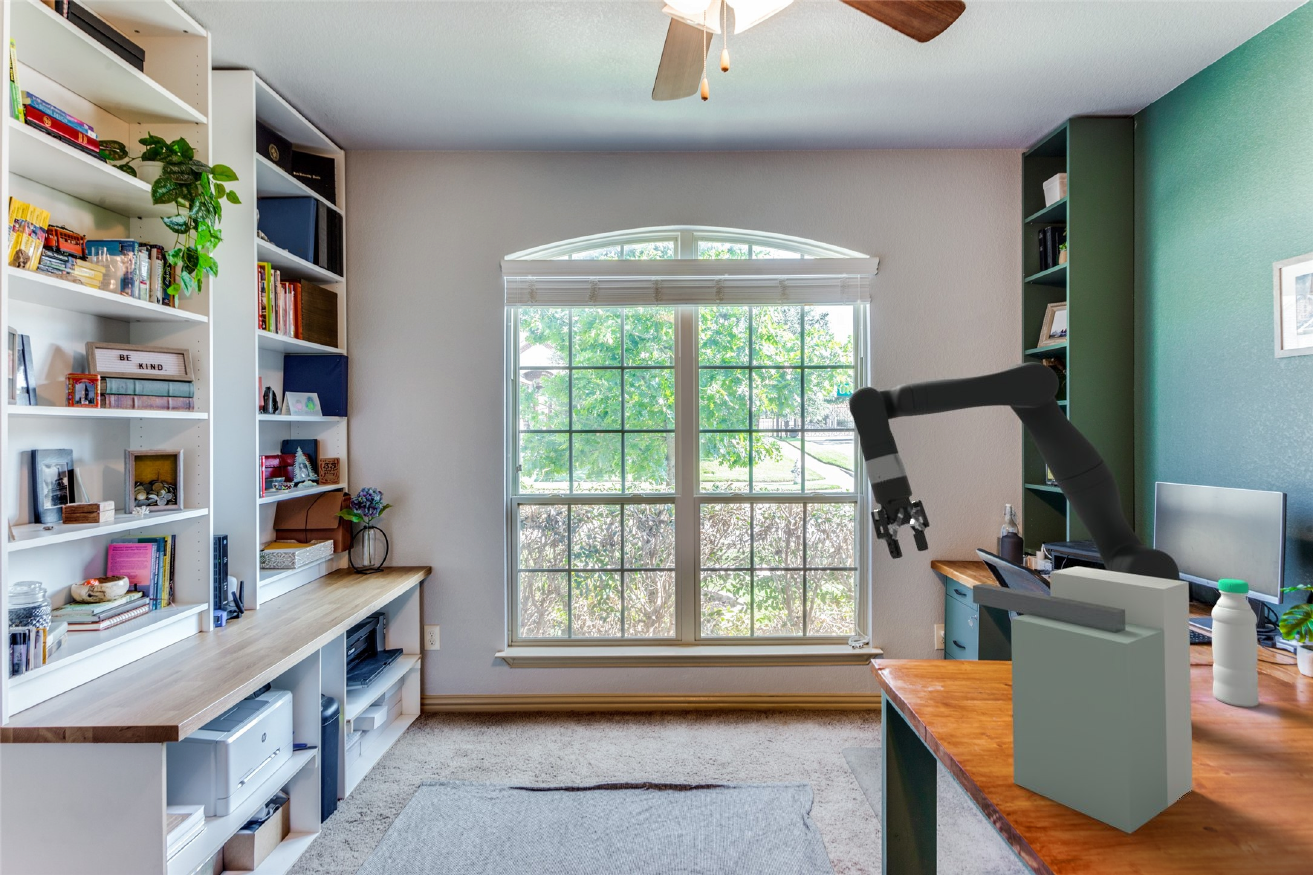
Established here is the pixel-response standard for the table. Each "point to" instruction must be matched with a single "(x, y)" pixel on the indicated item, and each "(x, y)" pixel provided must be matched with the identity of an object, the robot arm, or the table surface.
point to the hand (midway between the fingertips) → (910, 554)
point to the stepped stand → (1106, 699)
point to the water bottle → (1234, 646)
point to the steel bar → (1051, 607)
